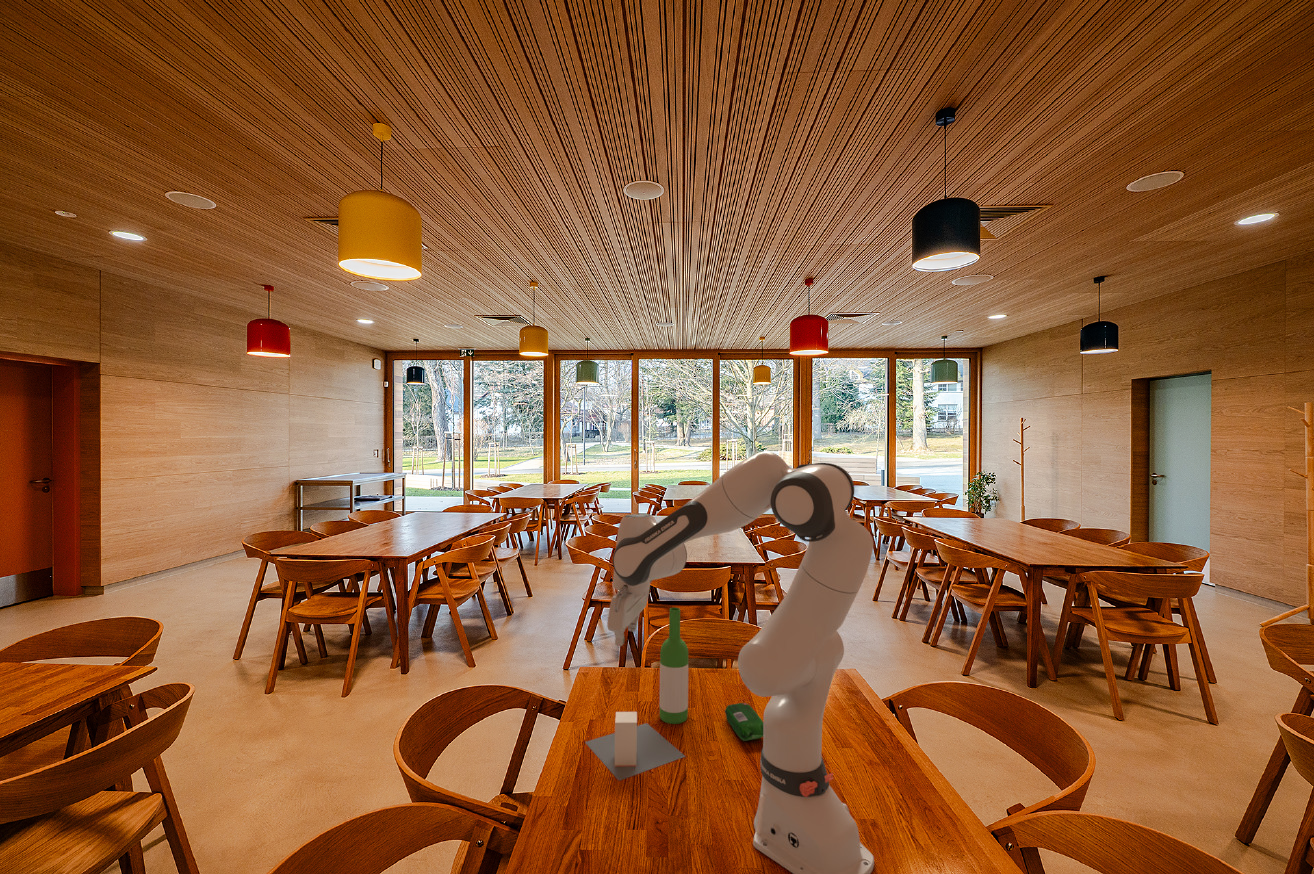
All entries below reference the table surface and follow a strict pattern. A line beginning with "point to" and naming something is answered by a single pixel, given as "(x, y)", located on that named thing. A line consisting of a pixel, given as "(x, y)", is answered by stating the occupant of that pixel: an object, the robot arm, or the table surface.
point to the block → (625, 739)
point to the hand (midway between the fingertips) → (626, 637)
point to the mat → (648, 754)
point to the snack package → (744, 721)
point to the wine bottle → (674, 674)
